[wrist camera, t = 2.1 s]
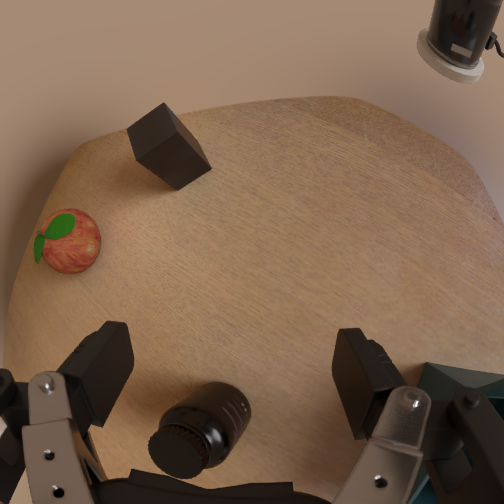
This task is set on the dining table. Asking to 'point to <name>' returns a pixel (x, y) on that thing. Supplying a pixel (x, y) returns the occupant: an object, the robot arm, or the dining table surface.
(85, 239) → the fruit
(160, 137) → the block
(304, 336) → the dining table surface
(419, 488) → the carton
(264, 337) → the dining table surface
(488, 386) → the flap
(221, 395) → the supplement bottle
